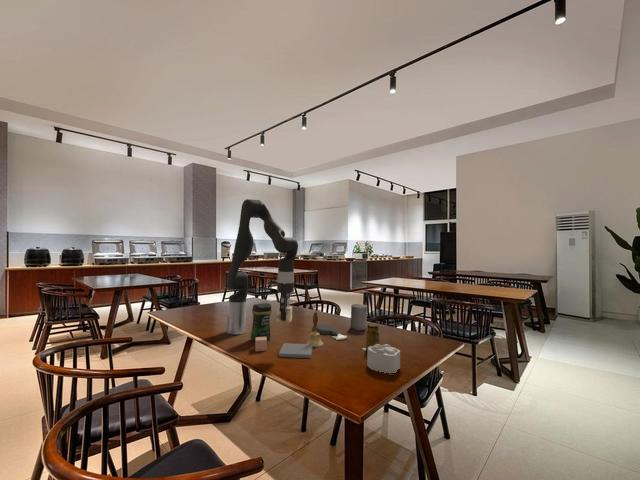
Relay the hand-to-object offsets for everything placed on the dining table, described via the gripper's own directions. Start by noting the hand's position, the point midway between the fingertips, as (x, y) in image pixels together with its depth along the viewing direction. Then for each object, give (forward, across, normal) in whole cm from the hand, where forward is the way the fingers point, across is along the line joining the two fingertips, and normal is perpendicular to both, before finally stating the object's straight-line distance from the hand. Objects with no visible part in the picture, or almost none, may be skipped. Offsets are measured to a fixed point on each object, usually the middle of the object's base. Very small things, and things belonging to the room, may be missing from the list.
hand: (284, 318), depth 139 cm
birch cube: (+1, 0, 0) cm, 1 cm away
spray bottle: (+16, -36, +20) cm, 44 cm away
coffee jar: (+16, -19, -15) cm, 29 cm away
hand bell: (+16, -16, +13) cm, 26 cm away
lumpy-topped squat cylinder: (+16, +9, +43) cm, 47 cm away
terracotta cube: (+16, -5, -12) cm, 20 cm away
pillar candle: (+16, -51, +37) cm, 65 cm away
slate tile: (+16, -4, +5) cm, 17 cm away
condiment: (+16, -11, +41) cm, 46 cm away
